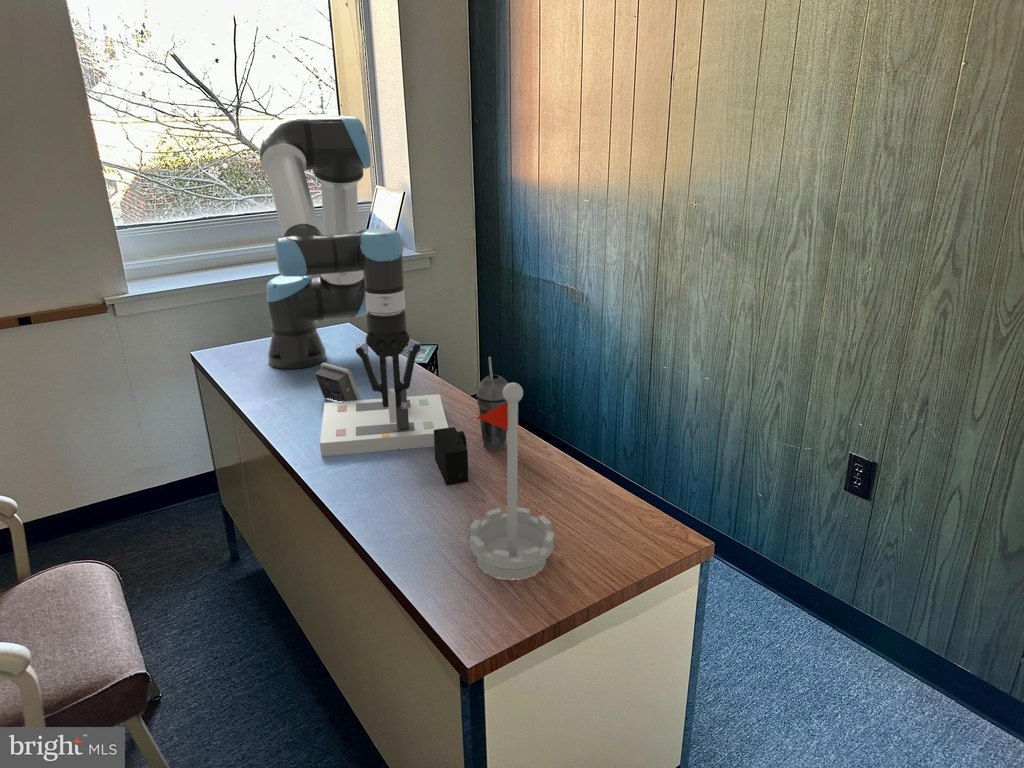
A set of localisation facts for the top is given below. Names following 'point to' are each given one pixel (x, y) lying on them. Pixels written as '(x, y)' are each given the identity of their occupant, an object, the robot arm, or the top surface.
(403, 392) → the block
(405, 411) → the block
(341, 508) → the top surface
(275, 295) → the robot arm
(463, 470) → the digital camera
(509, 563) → the flag stand
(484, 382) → the beverage cup
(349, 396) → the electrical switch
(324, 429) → the breaker panel
